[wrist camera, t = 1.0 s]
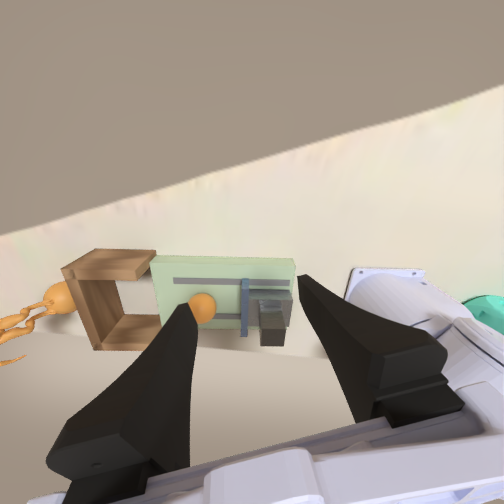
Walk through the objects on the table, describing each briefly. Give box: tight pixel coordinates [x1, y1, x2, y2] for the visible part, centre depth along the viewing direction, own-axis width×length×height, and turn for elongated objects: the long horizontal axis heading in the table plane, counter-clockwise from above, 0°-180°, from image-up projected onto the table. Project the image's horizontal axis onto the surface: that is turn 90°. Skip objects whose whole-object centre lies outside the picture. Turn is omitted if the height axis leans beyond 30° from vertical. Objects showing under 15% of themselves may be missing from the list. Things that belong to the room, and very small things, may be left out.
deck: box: [149, 255, 296, 330], centre depth 26 cm, size 17×10×2 cm, turn 88°
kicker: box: [241, 278, 293, 346], centre depth 23 cm, size 6×7×6 cm
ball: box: [188, 293, 217, 324], centre depth 24 cm, size 4×4×4 cm
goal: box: [61, 249, 162, 351], centre depth 25 cm, size 7×11×5 cm, turn 178°
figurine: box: [0, 281, 77, 366], centre depth 21 cm, size 8×6×12 cm
